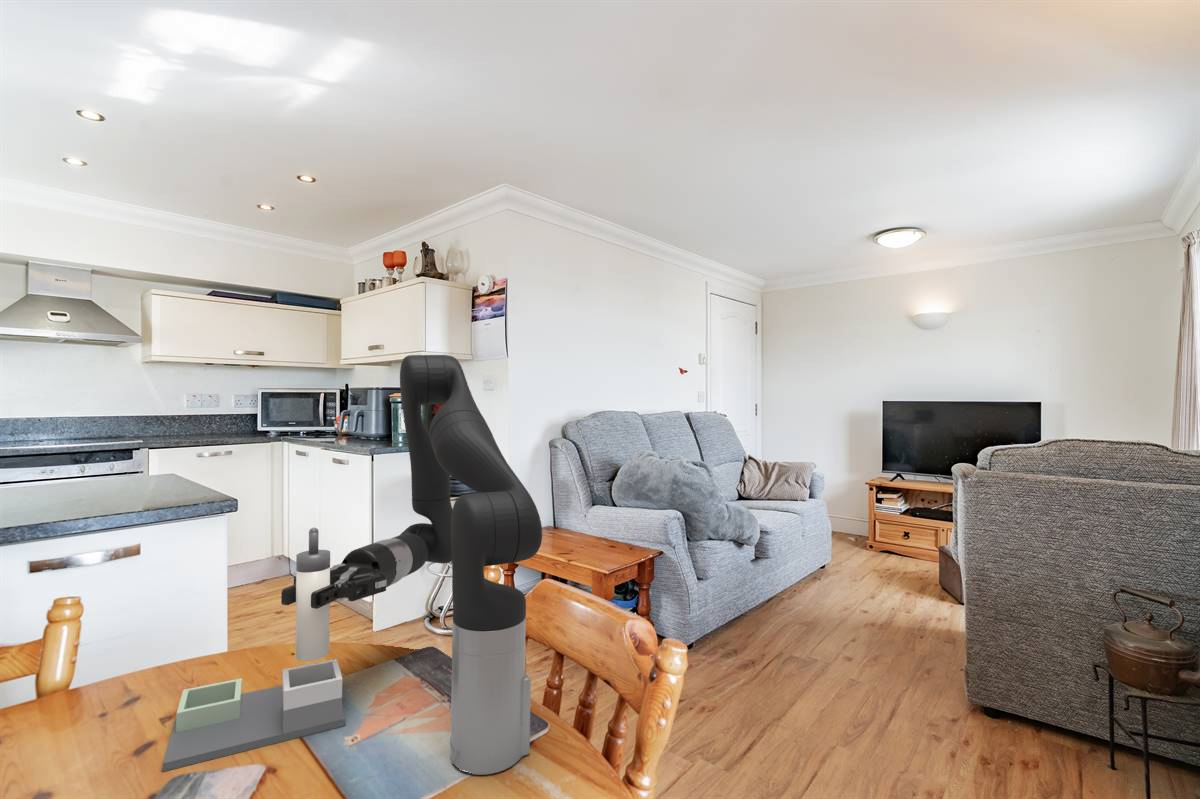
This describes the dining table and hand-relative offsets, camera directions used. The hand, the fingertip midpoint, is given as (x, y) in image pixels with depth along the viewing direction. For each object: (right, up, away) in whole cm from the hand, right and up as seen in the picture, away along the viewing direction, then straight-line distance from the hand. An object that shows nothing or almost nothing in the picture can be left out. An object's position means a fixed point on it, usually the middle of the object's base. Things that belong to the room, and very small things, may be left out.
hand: (298, 599), depth 76 cm
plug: (+1, -9, +2) cm, 9 cm away
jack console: (-7, -18, +3) cm, 19 cm away
